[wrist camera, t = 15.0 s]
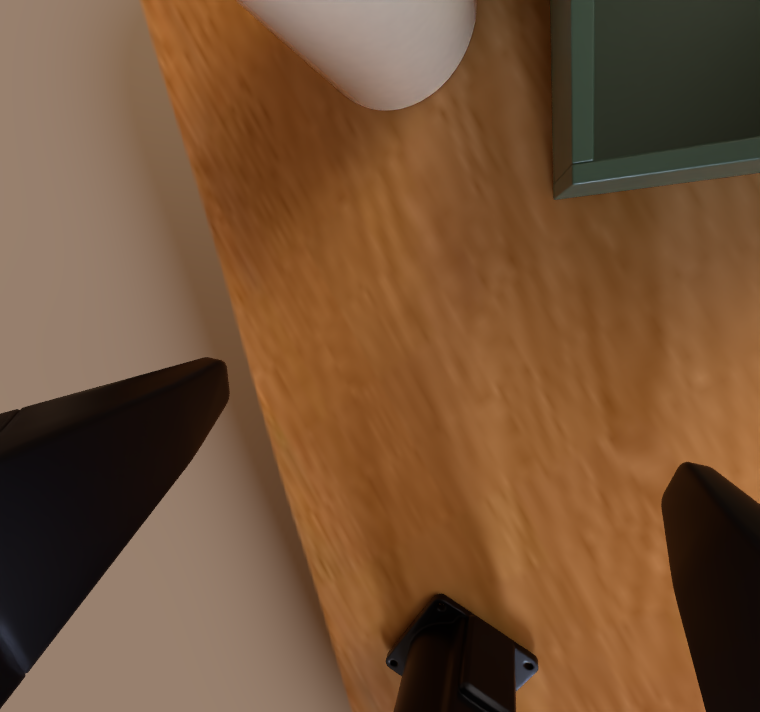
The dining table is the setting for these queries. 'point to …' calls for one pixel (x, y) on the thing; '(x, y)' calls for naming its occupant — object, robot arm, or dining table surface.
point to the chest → (653, 93)
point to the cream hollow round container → (374, 43)
